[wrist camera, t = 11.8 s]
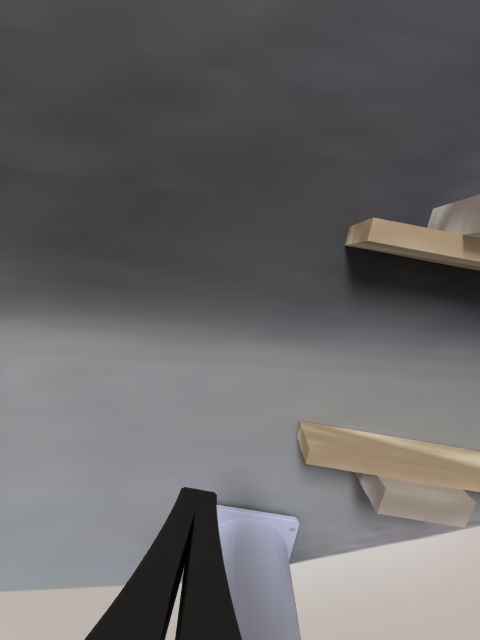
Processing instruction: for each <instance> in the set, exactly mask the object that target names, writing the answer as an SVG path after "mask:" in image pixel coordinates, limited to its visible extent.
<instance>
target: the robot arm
mask: <svg viewBox="0 0 480 640" xmlns="http://www.w3.org/2000/svg"><path fill="white" fill-rule="evenodd" d="M298 529H299V520H298V519H297V518H296V517H293V516H286V515H280V514H274V513H267V512H261V511H254V510H248V509H242V508H235V507H229V506H222V505H217V495H216V494H215V492H209V491H204V490H198V489H192V488H186V487H184V488H182V489H181V491H180V493H179V496H178V498H177V500H176V503H175V505H174V507H173V509H172V511H171V513H170V515H169V516H168V518H167V520H166V522H165V524H164V525H163V527H162V529H161V531H160V532H159V534H158V536H157V537H156V539H155V541H154V542H153V544H152V546H151V547H150V549H149V550H148V552H147V554H146V555H145V557H144V558H143V560H142V561H141V563H140V564H139V566H138V567H137V569H136V570H135V572H134V573H133V575H132V576H131V578H130V579H129V581H128V582H127V583H126V585H125V586H124V588H123V589H122V591H121V592H120V593H119V595H118V596H117V597H116V599H115V600H114V602H113V603H112V604H111V606H110V607H109V608H108V610H107V611H106V612H105V614H104V615H103V616H102V618H101V619H100V620H99V622H98V623H97V624H96V625H95V627H94V628H93V629H92V631H91V632H90V633H89V634H88V636H87V637H86V638H85V640H165V637H166V633H167V629H168V625H169V622H170V618H171V614H172V610H173V607H174V602H175V599H176V595H177V592H178V588H179V584H180V580H181V577H182V573H183V569H184V574H183V582H182V590H181V598H180V606H179V614H178V622H177V629H176V638H175V640H301V637H300V631H299V624H298V617H297V611H296V605H295V598H294V592H293V586H292V579H291V573H290V567H289V560H290V557H291V553H292V550H293V546H294V543H295V539H296V536H297V532H298ZM184 565H185V566H184Z"/></svg>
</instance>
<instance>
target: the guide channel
mask: <svg viewBox="0 0 480 640" xmlns="http://www.w3.org/2000/svg"><path fill="white" fill-rule="evenodd" d="M345 246H350V247H356V248H361V249H366V250H372V251H377V252H382V253H388V254H393V255H398V256H404V257H409V258H414V259H420V260H425V261H430V262H436V263H441V264H446V265H452V266H457V267H462V268H468V269H473V270H478V271H480V195H476V196H473V197H470V198H467V199H463V200H460V201H457V202H454V203H451V204H447V205H444V206H441V207H438V208H434V209H433V211H432V214H431V217H430V220H429V223H428V226H427V228H425V227H419V226H414V225H409V224H404V223H398V222H393V221H388V220H383V219H378V218H371V219H369V220H366V221H364V222H361V223H358V224H356V225H353V226H350V228H349V232H348V235H347V239H346V243H345ZM296 435H297V438H298V442H299V445H300V448H301V451H302V454H303V457H304V460H305V463H306V464H309V465H315V466H321V467H327V468H334V469H340V470H346V471H352V472H355V474H356V476H357V478H358V480H359V482H360V483H361V485H362V487H363V489H364V491H365V493H366V494H367V496H368V498H369V500H370V502H371V504H372V505H373V507H374V509H375V511H376V513H377V514H382V515H389V516H395V517H401V518H408V519H414V520H420V521H427V522H433V523H439V524H446V525H452V526H458V527H465V526H466V524H467V522H468V520H469V518H470V516H471V513H472V511H473V509H474V507H475V505H476V502H475V501H474V500H473V499H472V498H471V497H470V496H469V495H468V494H467V493H466V492H465V491H464V490H469V491H475V492H480V451H476V450H470V449H464V448H458V447H452V446H446V445H440V444H434V443H428V442H422V441H416V440H410V439H404V438H398V437H392V436H386V435H380V434H374V433H368V432H362V431H356V430H350V429H344V428H338V427H332V426H326V425H320V424H314V423H308V422H302V421H299V425H298V429H297V433H296Z"/></svg>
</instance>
